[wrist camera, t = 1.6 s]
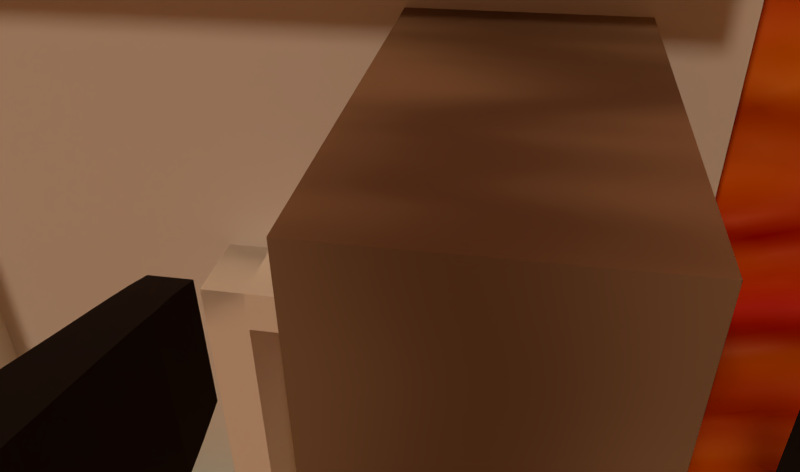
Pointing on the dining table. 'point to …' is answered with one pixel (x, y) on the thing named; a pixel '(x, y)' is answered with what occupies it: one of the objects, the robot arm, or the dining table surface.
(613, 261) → the brown rectangular block
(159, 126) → the white tray
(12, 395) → the robot arm
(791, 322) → the dining table surface
